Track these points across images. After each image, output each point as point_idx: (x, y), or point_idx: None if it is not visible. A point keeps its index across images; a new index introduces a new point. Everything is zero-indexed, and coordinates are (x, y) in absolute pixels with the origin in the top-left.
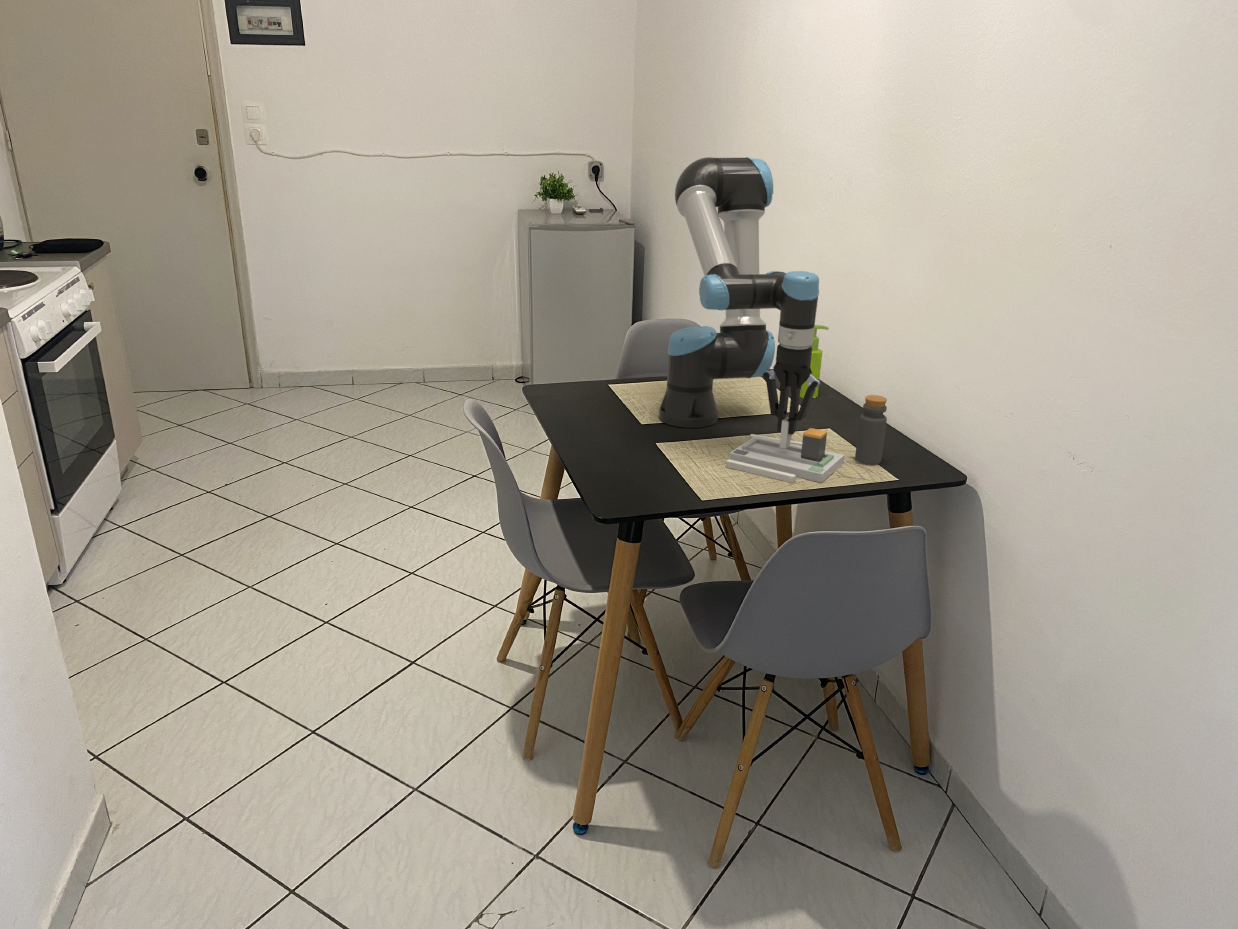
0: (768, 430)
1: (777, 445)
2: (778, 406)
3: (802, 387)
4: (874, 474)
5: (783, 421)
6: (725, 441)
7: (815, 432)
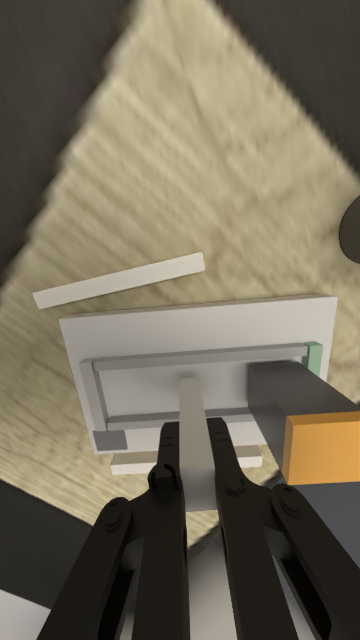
0: (23, 176)
1: (156, 365)
2: (117, 565)
3: None
4: None
5: (192, 506)
6: (13, 346)
7: (331, 457)
